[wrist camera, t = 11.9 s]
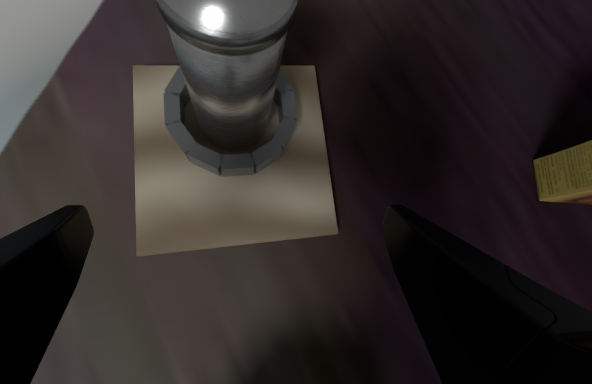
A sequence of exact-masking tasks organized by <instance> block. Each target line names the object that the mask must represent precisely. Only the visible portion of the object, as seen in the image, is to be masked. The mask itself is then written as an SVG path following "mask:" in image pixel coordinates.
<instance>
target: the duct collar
mask: <svg viewBox="0 0 592 384" xmlns="http://www.w3.org/2000/svg"><path fill="white" fill-rule="evenodd" d="M292 89H293V88H292V87H291V85H290V84H289V83H288V81H287V80H286V79H285V77H284V76H283V75H282V73H281V72H280V71H279V74H278V79H277V83H276V88H275V93H274V97H273V101H274V102H275V104H276V105H277V106H278V115H279V124H280V125H279V127H278V129H277V131H276V133H275V136H274V138H273V139H272V140H271V141H269V142H268V143H266V144H264V145H263V146H261V147H260V148H258V149H257V150H255V151H253V152H252V153H248V154H229V155H221V154H219V153H217V152H215V151H213V150H211V149H209V148H206V147H204V146H202V145H200V144H198V143H196V142H195V140H194V139H193V137H192V136H191V135H190V133H189V132H188V130H187V129H186V127H185V107H186V105H187V104H188V102H189V100H190V96H189V93H188V89H187V86H186V83H185V80H184V77H183V73H182V70H181V67H180V66H179V67H178V69H177V71H176V72H175V74H174V75H173V77H172V79H171V80H170V82H169V83H168V85H167V87H166V88H165V90H164V91H165V93H163V94H164V119H165V125H166V128H167V129H168V131H169V133H170V134H171V136H172V138H173V139H174V140H175V142H176V143H177V145H178V146H179V148H180V149H181V150H182V152H183V153H184V155H185V156H186V157H187V159H188V160H189V162H190V161H191V163H192V164H194V165H196V166H198V167H201V168H203V169H205V170H207V171H209V172H211V173H214V174H216V175H218V176H220V175H221V173H222V176H223V177H228V176H243V175H253V172H255V174H256V173H258V172H259V171H261V170H262V169H264V168H265V167H267V166H268V165H270V164H272V163H273V162H275V161H276V160H278V159H279V158H280V156H282V153H283V151H284V149H285V147H286V145H287V143H288V141H289V139H290V136H291V134H292V132H293V130H294V127H295V125H296V122H297V112H296V104H295V96H294V91H292Z"/></svg>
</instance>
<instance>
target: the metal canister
mask: <svg viewBox="0 0 592 384" xmlns="http://www.w3.org/2000/svg"><path fill="white" fill-rule="evenodd" d="M155 1H156V4H157V7H158V9H159V12H160V14H161V15H162V17H163V19H164V21H165V22H166V23H167V26H168V29H169V32H170V35H171V38H172V42H173V45H174V48H175V51H176V54H177V58H178V61H179V64H180V67H181V70H182V73H183V77H184V80H185V83H186V86H187V89H188V93H189V96H190V99H191V102H192V105H193V109H194V112H195V115H196V118H197V121H198V125H199V128H200V130H201V132H202V134H203V136H204V137H205V138H206V140H207V141H208V142H209V143H211V144H212V145H214V146H215V147H217V148H219V149H222V150H225V151H231V152H237V151H244V150H247V149H249V148H251V147H253V146H255V145H256V144H257V143H258V142H259V141H260V140H261V139H262V138H263V136H264V134H265V132H266V129H267V126H268V121H269V116H270V112H271V107H272V102H273V97H274V93H275V88H276V83H277V79H278V74H279V69H280V65H281V60H282V55H283V51H284V46H285V41H286V37H287V32H288V30H289V28H290V26H291V24H292V22H293V20H294V16H295V12H296V8H297V4H298V0H155Z"/></svg>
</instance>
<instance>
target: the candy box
mask: <svg viewBox="0 0 592 384" xmlns="http://www.w3.org/2000/svg"><path fill="white" fill-rule="evenodd" d="M533 165H534V171H535V172H534V173H535V180H536V186H537V194H538V199H539V200H540V201H549V202H566V203H578V204H592V140H590V141H587V142H584V143H581V144H578V145H576V146H573V147H570V148H567V149H564V150H561V151H559V152H556V153H553V154H550V155H547V156H544V157H541V158H538V159H535V160H533Z"/></svg>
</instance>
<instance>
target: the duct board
mask: <svg viewBox="0 0 592 384" xmlns="http://www.w3.org/2000/svg"><path fill="white" fill-rule="evenodd" d="M178 67H179V66H133V98H134V148H135V199H136V250H137V256H149V255H158V254H167V253H176V252H185V251H193V250H202V249H211V248H220V247H229V246H238V245H247V244H256V243H264V242H273V241H282V240H291V239H300V238H309V237H318V236H327V235H335V234H338V228H337V221H336V214H335V207H334V200H333V193H332V186H331V179H330V172H329V164H328V157H327V150H326V143H325V136H324V129H323V122H322V115H321V108H320V101H319V93H318V86H317V79H316V72H315V66H280V69H279V71H280V72H281V73H282V75H283V76H284V77H285V79H286V80H287V81H288V83H289V84H290V85H291V87H292V88H293V89H292V91H294V96H295V104H296V112H297V122H296V125H295V127H294V130H293V132H292V134H291V136H290V139H289V141H288V143H287V145H286V147H285V149H284V151H283V153H282V156H280V158H279V159H278V160H276V161H275V162H273V163H272V164H270V165H268V166H267V167H265V168H264V169H262V170H261V171H259V172H258V173H256V174H255V172H253V175H243V176H228V177H223V176H222V173H221V175H220V176H218V175H216V174H214V173H211V172H209V171H207V170H205V169H203V168H201V167H198V166H196V165H194V164H192V163H191V161H190V162H189V160H188V159H187V157H186V156H185V155H184V153H183V152H182V150H181V149H180V148H179V146H178V145H177V143H176V142H175V140H174V139H173V138H172V136H171V134H170V133H169V131H168V129H167V128H166V125H165V119H164V94H163V93H165V91H164V90H165V88H166V87H167V85H168V83H169V82H170V80H171V79H172V77H173V75H174V74H175V72H176V71H177V69H178ZM279 125H280V124H279V115H278V106H277V105H276V104H275V102H274V101H273V102H272V107H271V112H270V116H269V121H268V126H267V129H266V132H265V134H264V136H263V138H262V139H261V140H260V141H259V142H258V143H257V144H256V145H255V146H253V147H251V148H249V149H247V150H244V151H237V152H231V151H225V150H222V149H219V148H217V147H215V146H214V145H212V144H211V143H209V142H208V141H207V140H206V138H205V137H204V136H203V134H202V132H201V130H200V128H199V125H198V121H197V118H196V115H195V112H194V109H193V105H192V102H191V99H190V100H189V102H188V104H187V105H186V107H185V127H186V129H187V130H188V132H189V133H190V135H191V136H192V137H193V139H194V140H195V142H196V143H198V144H200V145H202V146H204V147H206V148H209V149H211V150H213V151H215V152H217V153H219V154H221V155H229V154H248V153H252V152H253V151H255V150H257V149H258V148H260V147H261V146H263V145H264V144H266V143H268V142H269V141H271V140H272V139H273V138H274V136H275V133H276V131H277V129H278V127H279Z"/></svg>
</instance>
